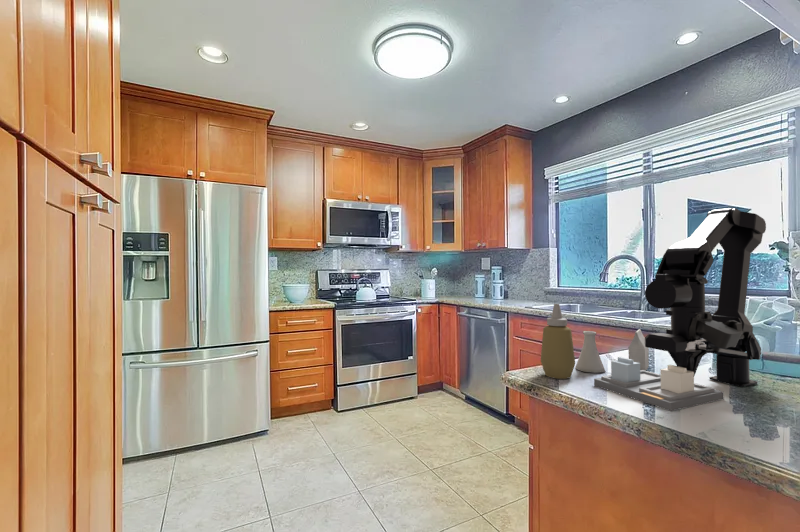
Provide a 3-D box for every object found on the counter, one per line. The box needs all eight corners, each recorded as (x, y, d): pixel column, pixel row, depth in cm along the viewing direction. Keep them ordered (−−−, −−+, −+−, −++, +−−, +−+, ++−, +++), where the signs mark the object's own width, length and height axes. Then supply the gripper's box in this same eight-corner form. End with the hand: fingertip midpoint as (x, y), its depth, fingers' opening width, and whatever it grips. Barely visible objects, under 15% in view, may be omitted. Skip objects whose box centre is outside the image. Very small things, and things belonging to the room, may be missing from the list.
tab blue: (623, 376, 87) (623, 355, 87) (640, 381, 83) (640, 359, 84) (611, 378, 86) (611, 357, 86) (627, 383, 82) (627, 361, 82)
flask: (598, 366, 103) (598, 329, 103) (610, 374, 95) (610, 334, 96) (571, 366, 103) (570, 329, 103) (581, 373, 96) (580, 334, 96)
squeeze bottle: (533, 375, 95) (532, 303, 95) (552, 370, 100) (551, 301, 100) (564, 383, 88) (563, 306, 89) (582, 376, 93) (581, 304, 93)
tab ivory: (673, 385, 80) (673, 363, 80) (694, 391, 76) (693, 367, 76) (660, 388, 79) (660, 365, 79) (681, 394, 75) (680, 370, 75)
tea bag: (648, 366, 102) (648, 329, 102) (645, 372, 97) (644, 333, 97) (632, 364, 104) (632, 328, 104) (628, 369, 99) (628, 331, 99)
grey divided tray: (642, 377, 92) (642, 368, 92) (723, 399, 77) (723, 388, 77) (594, 385, 86) (594, 376, 86) (671, 411, 71) (671, 399, 71)
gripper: (702, 312, 68) (703, 399, 68) (761, 307, 75) (763, 386, 75) (642, 306, 78) (643, 382, 78) (699, 303, 85) (700, 372, 85)
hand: (688, 380), depth 79 cm, fingers closed
